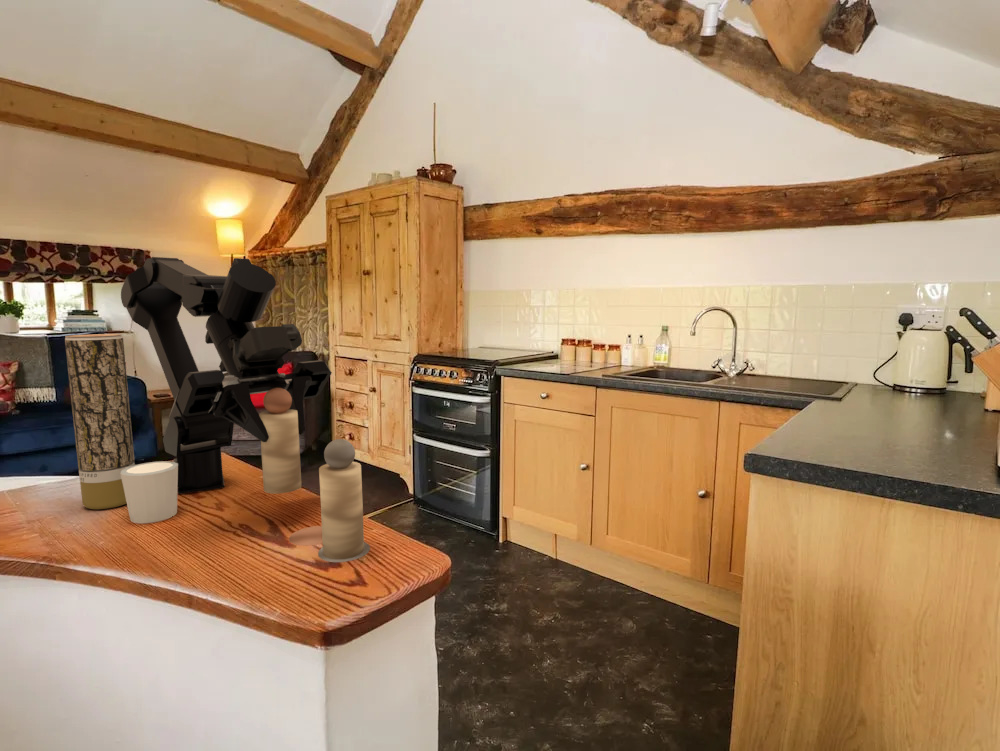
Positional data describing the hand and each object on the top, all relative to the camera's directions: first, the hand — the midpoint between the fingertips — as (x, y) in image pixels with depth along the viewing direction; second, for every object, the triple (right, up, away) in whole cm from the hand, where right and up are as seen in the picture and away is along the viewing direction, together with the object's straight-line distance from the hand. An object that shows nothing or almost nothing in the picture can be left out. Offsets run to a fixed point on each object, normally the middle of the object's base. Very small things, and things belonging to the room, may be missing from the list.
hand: (285, 436), depth 71 cm
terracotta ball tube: (-1, -7, +2) cm, 7 cm away
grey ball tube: (+9, -13, -6) cm, 17 cm away
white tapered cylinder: (-21, -12, +7) cm, 25 cm away
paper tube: (-31, -11, +12) cm, 35 cm away
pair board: (+7, -13, -4) cm, 15 cm away
